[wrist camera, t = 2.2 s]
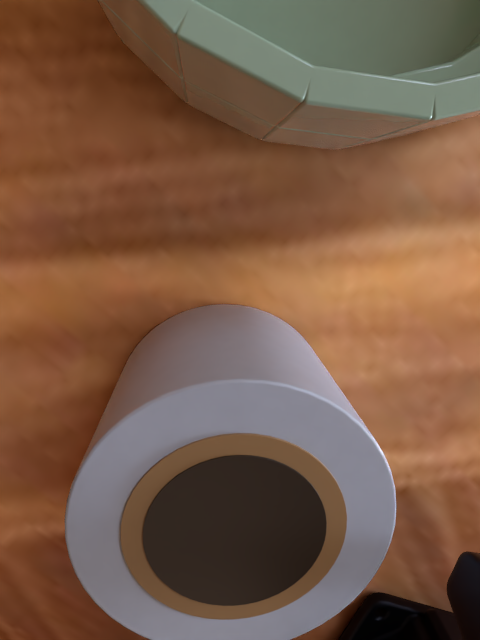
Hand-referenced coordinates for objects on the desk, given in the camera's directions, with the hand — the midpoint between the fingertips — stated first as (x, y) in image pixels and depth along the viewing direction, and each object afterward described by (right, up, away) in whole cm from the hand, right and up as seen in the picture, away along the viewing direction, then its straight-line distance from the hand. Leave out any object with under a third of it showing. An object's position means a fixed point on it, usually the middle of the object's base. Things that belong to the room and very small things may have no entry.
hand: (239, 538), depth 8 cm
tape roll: (0, +2, +5) cm, 5 cm away
